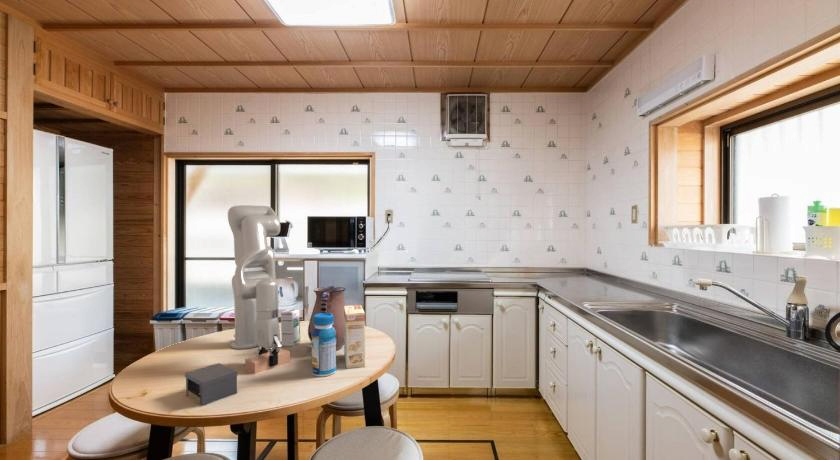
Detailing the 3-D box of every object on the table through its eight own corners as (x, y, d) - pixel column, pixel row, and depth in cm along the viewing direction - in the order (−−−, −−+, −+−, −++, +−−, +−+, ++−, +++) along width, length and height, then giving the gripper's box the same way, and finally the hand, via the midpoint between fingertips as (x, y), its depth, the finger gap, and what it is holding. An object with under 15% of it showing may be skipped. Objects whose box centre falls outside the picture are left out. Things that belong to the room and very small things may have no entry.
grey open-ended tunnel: (185, 395, 112) (185, 372, 112) (219, 383, 120) (219, 362, 120) (202, 406, 105) (202, 382, 105) (238, 393, 113) (237, 371, 113)
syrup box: (293, 346, 158) (293, 312, 158) (281, 345, 159) (280, 311, 159) (300, 342, 164) (300, 309, 163) (288, 341, 165) (287, 308, 165)
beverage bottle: (330, 378, 124) (329, 318, 124) (307, 376, 125) (306, 317, 125) (340, 368, 132) (339, 312, 132) (318, 367, 134) (317, 311, 134)
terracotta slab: (245, 370, 132) (245, 359, 132) (280, 358, 143) (280, 348, 143) (254, 374, 128) (254, 362, 128) (289, 361, 140) (289, 351, 140)
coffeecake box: (365, 367, 133) (365, 312, 133) (345, 369, 132) (345, 314, 132) (362, 353, 148) (361, 304, 148) (344, 355, 146) (343, 305, 146)
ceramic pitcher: (350, 340, 165) (350, 283, 165) (352, 356, 145) (351, 292, 145) (309, 343, 162) (308, 285, 161) (305, 360, 141) (304, 294, 141)
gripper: (245, 313, 138) (246, 361, 138) (271, 319, 127) (271, 372, 127) (264, 309, 144) (265, 356, 144) (290, 315, 133) (291, 365, 133)
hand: (268, 363), depth 136 cm, fingers closed on terracotta slab, 6 cm apart
